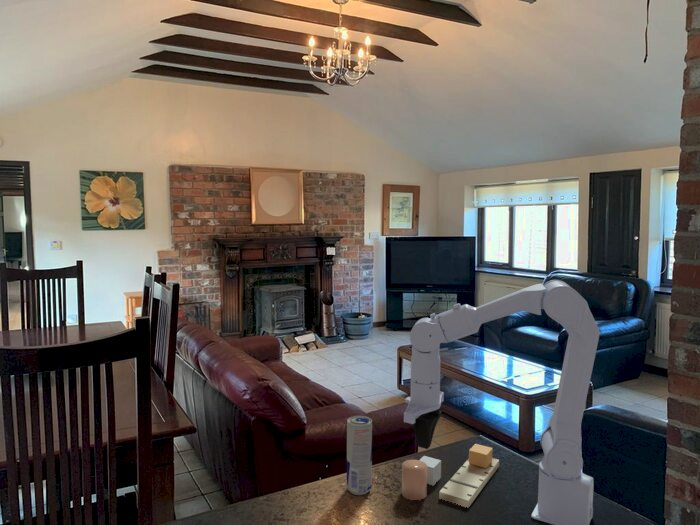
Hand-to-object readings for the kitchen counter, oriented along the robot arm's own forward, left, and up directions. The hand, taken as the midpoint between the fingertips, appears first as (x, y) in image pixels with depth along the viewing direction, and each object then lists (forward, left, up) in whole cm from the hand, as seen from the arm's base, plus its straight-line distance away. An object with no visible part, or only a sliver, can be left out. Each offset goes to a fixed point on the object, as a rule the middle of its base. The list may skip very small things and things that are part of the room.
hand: (424, 446), depth 103 cm
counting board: (-6, -11, -10) cm, 16 cm away
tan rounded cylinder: (+2, 0, -10) cm, 11 cm away
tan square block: (-6, -17, -9) cm, 20 cm away
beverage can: (+12, +5, -11) cm, 17 cm away
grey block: (+2, -7, -10) cm, 13 cm away
